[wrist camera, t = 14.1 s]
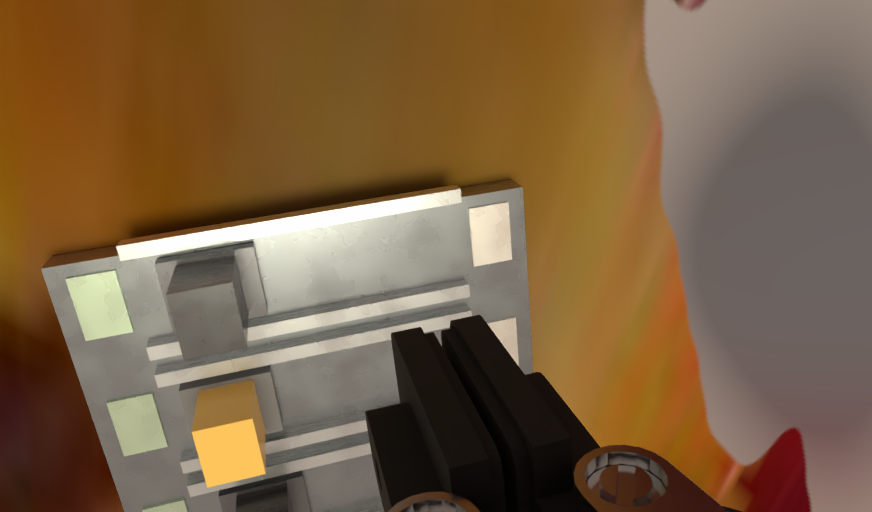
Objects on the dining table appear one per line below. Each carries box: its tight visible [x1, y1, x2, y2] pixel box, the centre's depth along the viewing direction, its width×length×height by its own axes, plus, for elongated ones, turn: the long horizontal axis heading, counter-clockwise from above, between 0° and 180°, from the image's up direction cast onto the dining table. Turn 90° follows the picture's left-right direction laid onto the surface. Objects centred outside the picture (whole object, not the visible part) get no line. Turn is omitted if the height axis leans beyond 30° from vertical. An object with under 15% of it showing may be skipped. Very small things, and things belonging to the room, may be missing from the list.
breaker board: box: [41, 179, 533, 512], centre depth 38 cm, size 22×26×7 cm
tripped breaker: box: [179, 365, 283, 488], centre depth 36 cm, size 4×5×5 cm
